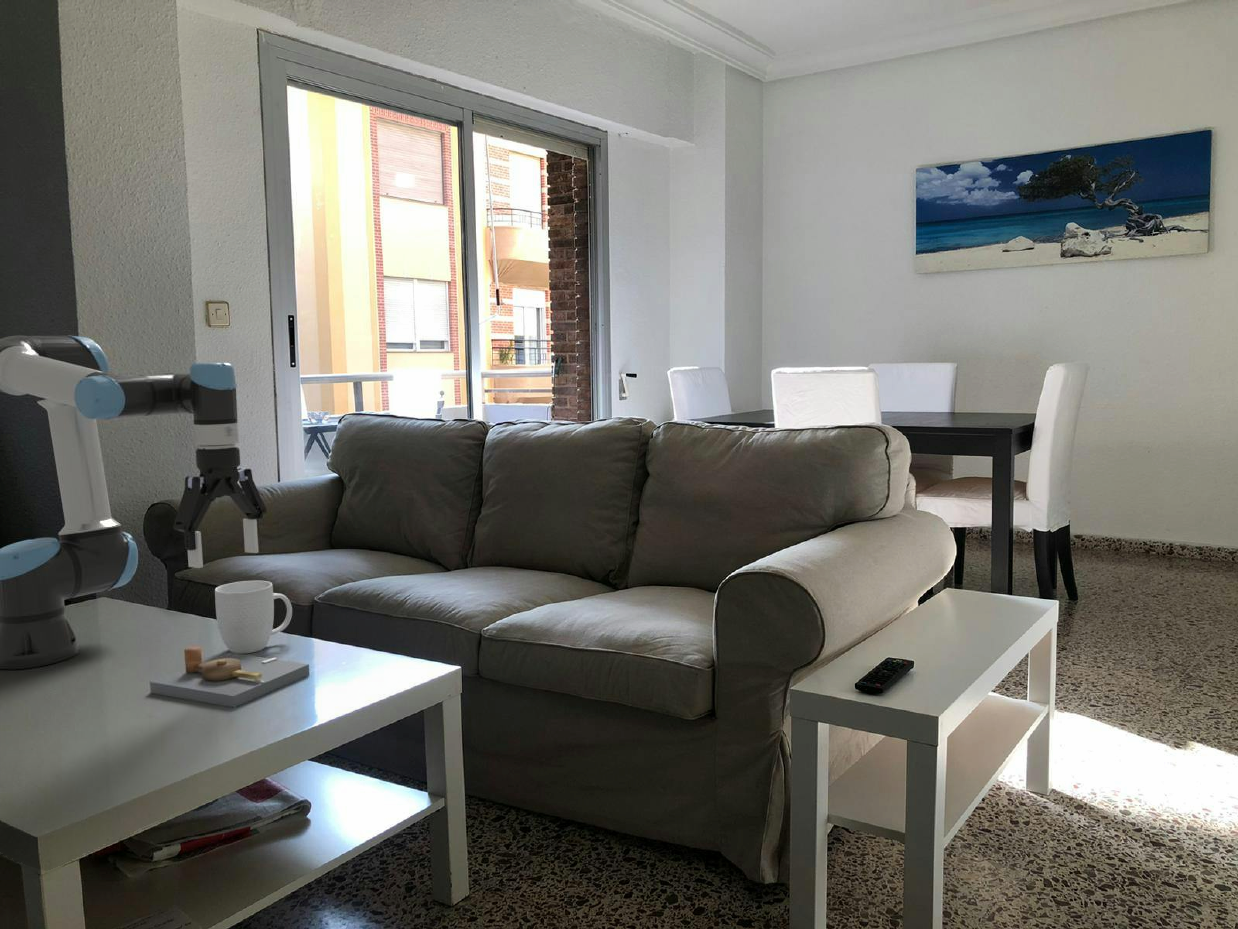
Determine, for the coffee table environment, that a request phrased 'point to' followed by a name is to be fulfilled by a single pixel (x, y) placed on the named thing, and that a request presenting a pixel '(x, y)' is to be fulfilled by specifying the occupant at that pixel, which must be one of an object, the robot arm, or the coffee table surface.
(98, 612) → the coffee table surface
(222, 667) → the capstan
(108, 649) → the coffee table surface
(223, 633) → the mug
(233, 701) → the board
